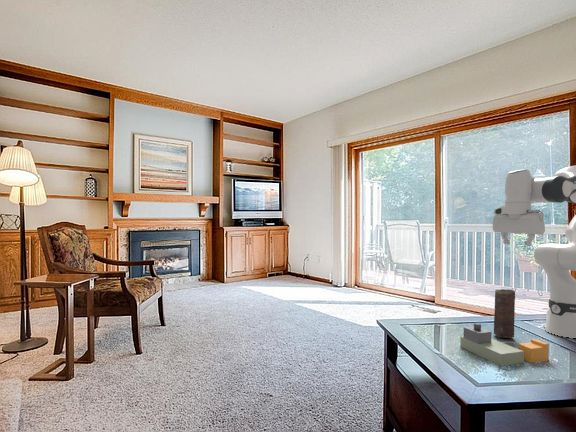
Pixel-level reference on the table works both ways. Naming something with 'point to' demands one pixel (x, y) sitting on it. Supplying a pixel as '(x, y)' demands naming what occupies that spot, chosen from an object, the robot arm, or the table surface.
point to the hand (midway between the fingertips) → (516, 244)
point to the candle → (504, 313)
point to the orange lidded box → (535, 351)
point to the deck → (490, 346)
